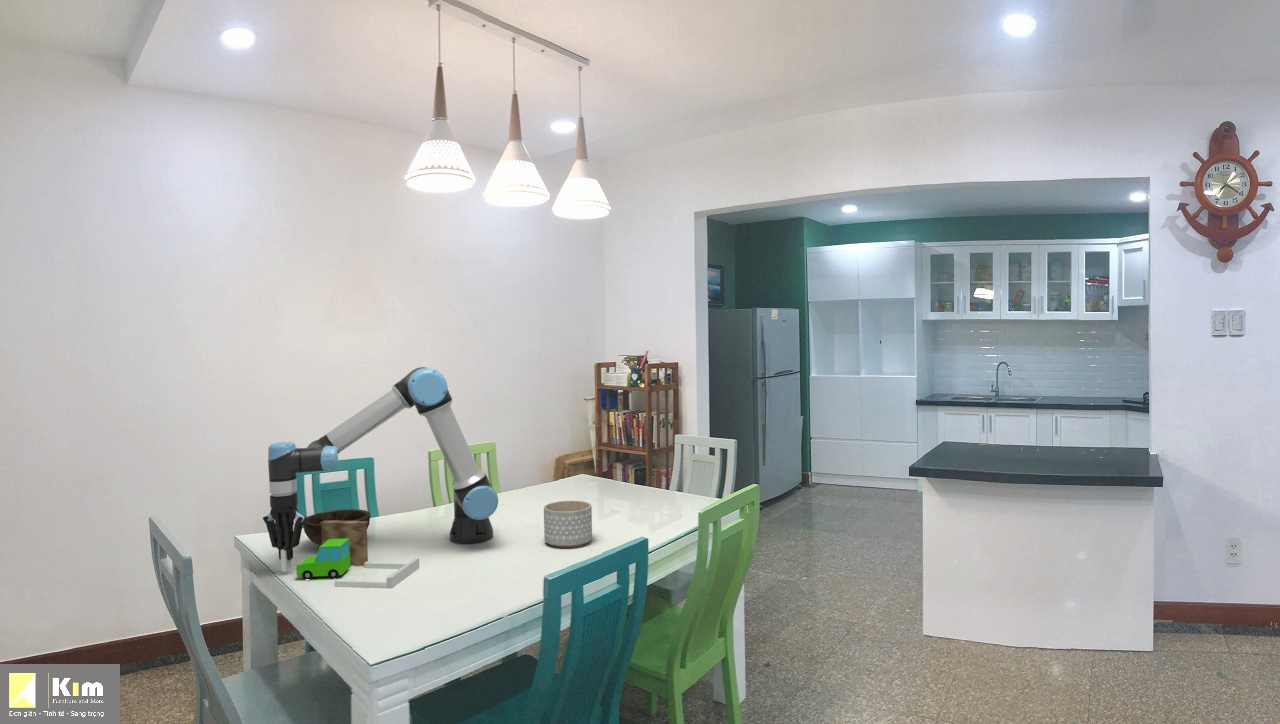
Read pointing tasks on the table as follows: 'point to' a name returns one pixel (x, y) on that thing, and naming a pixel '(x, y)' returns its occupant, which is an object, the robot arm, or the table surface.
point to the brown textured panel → (348, 530)
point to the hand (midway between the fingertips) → (286, 569)
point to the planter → (567, 523)
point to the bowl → (313, 521)
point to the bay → (392, 580)
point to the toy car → (327, 560)
